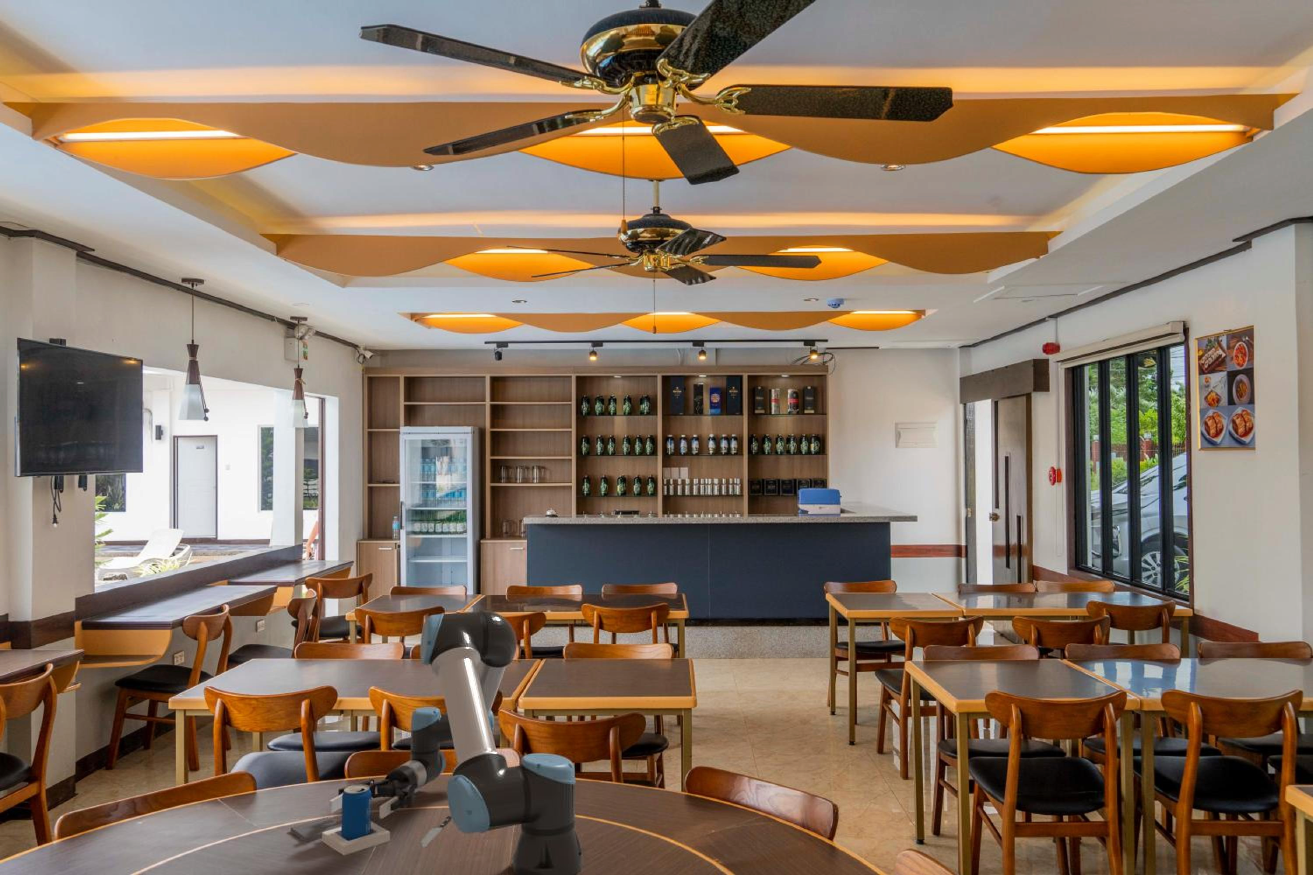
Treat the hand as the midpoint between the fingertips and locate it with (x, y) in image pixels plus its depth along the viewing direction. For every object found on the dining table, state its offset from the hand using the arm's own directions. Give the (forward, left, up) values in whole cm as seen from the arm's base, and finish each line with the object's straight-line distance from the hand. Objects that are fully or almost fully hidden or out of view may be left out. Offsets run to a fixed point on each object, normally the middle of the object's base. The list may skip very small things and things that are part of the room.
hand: (355, 809), depth 199 cm
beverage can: (0, 0, -7) cm, 7 cm away
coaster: (+12, +4, -7) cm, 14 cm away
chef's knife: (-9, -15, -8) cm, 19 cm away
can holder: (0, 0, -7) cm, 7 cm away
